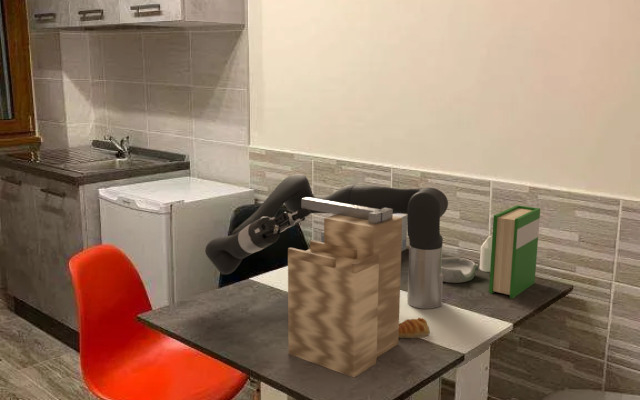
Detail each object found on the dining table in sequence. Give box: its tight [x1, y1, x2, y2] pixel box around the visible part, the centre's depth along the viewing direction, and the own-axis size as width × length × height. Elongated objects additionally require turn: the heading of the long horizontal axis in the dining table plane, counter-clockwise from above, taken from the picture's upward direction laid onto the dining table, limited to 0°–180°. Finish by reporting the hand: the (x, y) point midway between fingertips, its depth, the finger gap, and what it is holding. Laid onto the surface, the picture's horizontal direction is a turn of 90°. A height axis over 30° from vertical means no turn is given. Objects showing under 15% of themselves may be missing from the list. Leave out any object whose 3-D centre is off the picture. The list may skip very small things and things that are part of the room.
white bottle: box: [479, 234, 493, 273], centre depth 217 cm, size 6×12×6 cm
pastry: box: [399, 317, 431, 339], centre depth 166 cm, size 9×7×4 cm
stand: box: [287, 214, 402, 378], centre depth 154 cm, size 19×21×32 cm
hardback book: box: [488, 204, 541, 299], centre depth 198 cm, size 18×7×24 cm, turn 142°
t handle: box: [301, 197, 393, 225], centre depth 157 cm, size 24×7×2 cm, turn 52°
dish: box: [441, 257, 480, 284], centre depth 210 cm, size 14×14×5 cm
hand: (298, 212), depth 165 cm, fingers open, 8 cm apart
